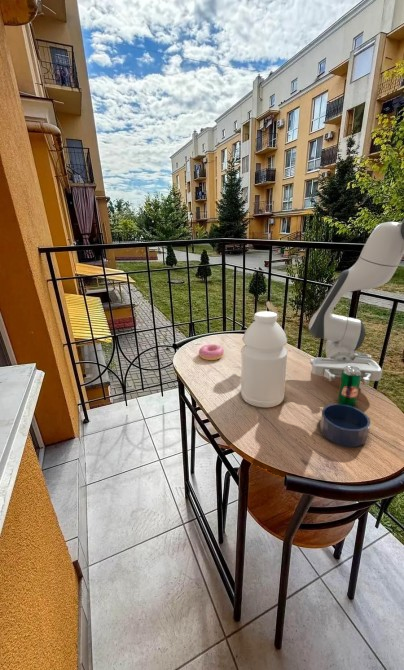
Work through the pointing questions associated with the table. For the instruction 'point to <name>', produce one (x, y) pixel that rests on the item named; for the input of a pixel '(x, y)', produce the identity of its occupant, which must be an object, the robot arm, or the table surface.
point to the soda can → (349, 385)
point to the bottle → (263, 361)
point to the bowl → (344, 425)
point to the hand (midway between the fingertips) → (348, 380)
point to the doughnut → (211, 352)
